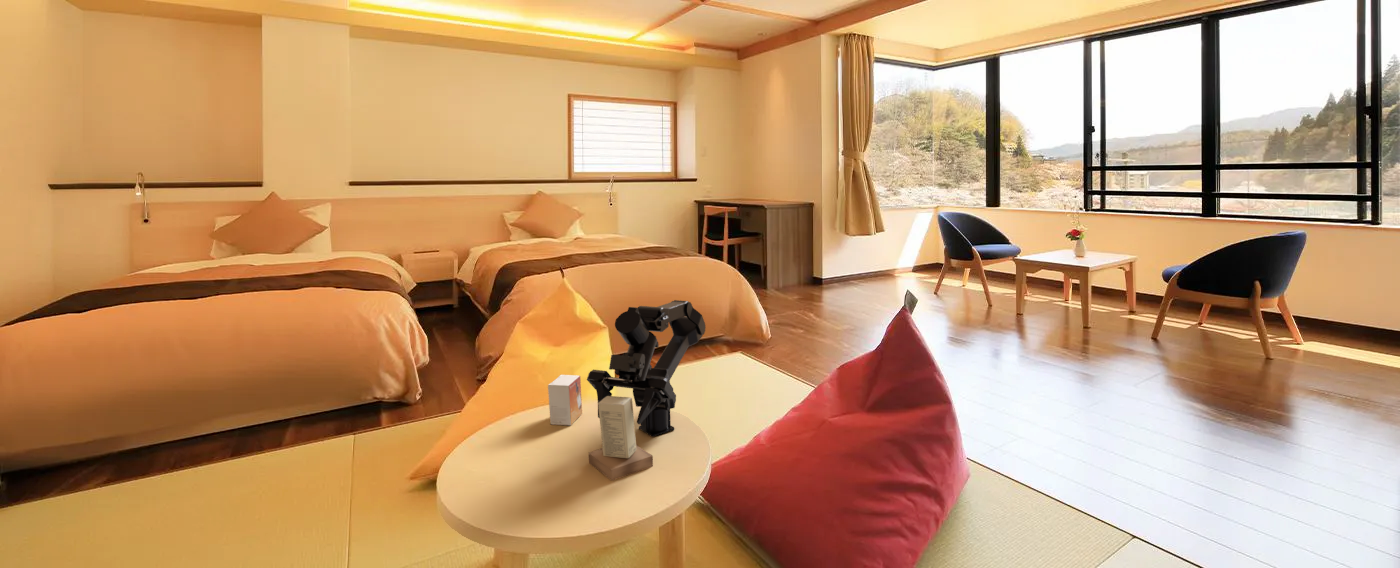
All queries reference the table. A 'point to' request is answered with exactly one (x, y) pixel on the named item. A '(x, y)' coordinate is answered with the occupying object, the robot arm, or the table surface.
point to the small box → (565, 399)
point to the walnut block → (620, 463)
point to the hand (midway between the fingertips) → (618, 420)
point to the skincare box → (617, 426)
